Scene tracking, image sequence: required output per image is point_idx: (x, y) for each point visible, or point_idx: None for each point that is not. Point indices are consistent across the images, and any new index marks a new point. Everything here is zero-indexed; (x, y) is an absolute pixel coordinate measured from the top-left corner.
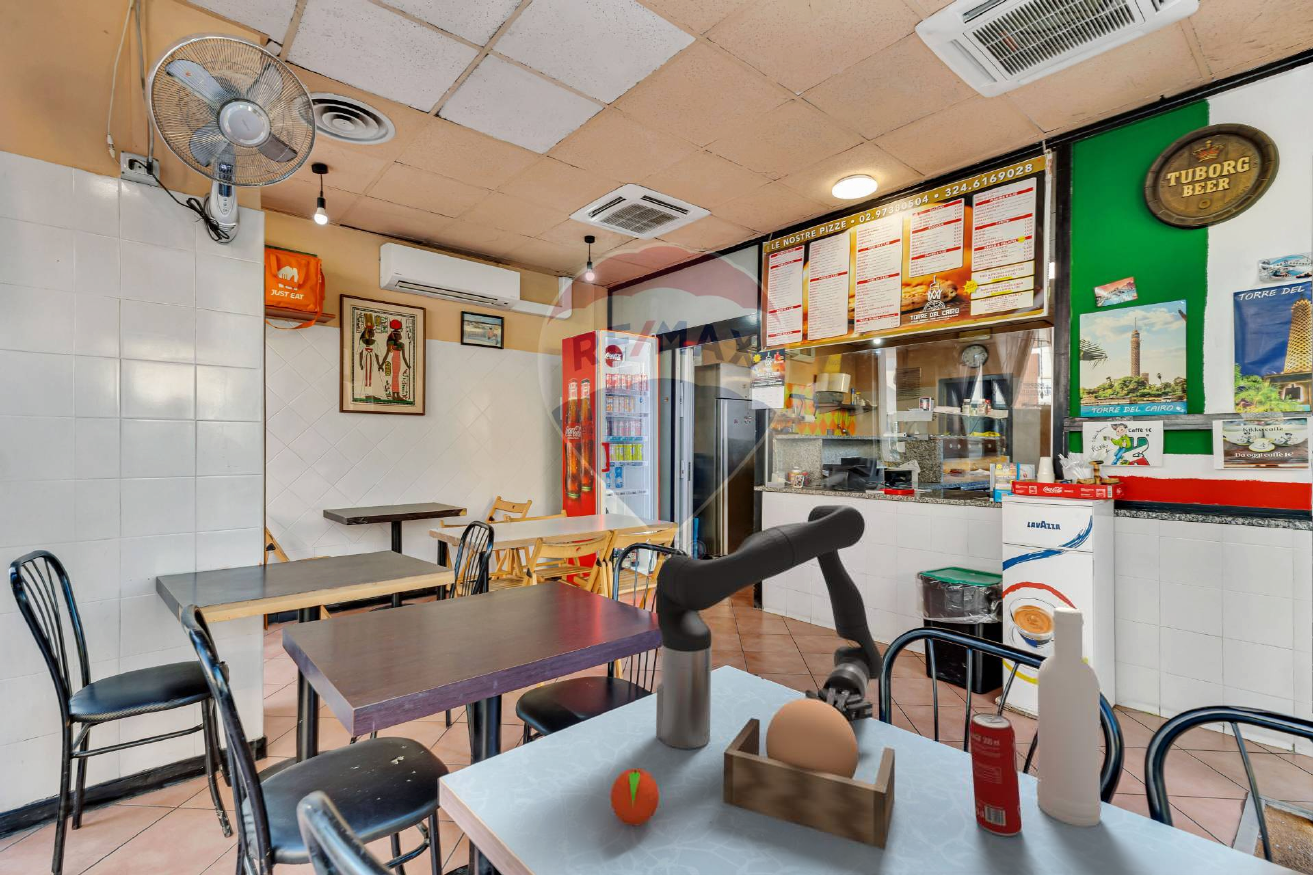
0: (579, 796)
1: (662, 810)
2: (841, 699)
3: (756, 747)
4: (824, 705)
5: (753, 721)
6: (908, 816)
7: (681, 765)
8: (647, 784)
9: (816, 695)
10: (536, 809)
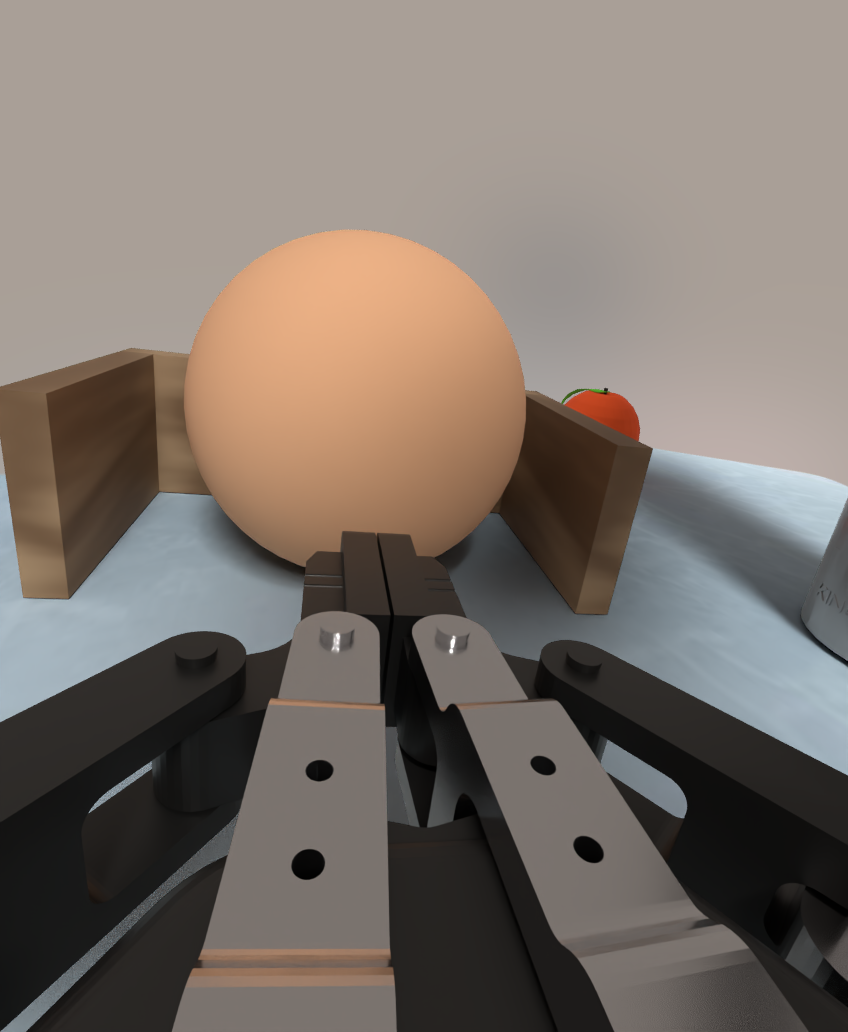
0: (703, 485)
1: None
2: (331, 712)
3: (577, 523)
4: (325, 232)
5: (620, 440)
6: (9, 550)
7: (714, 559)
8: (574, 398)
9: (772, 802)
10: (700, 469)
